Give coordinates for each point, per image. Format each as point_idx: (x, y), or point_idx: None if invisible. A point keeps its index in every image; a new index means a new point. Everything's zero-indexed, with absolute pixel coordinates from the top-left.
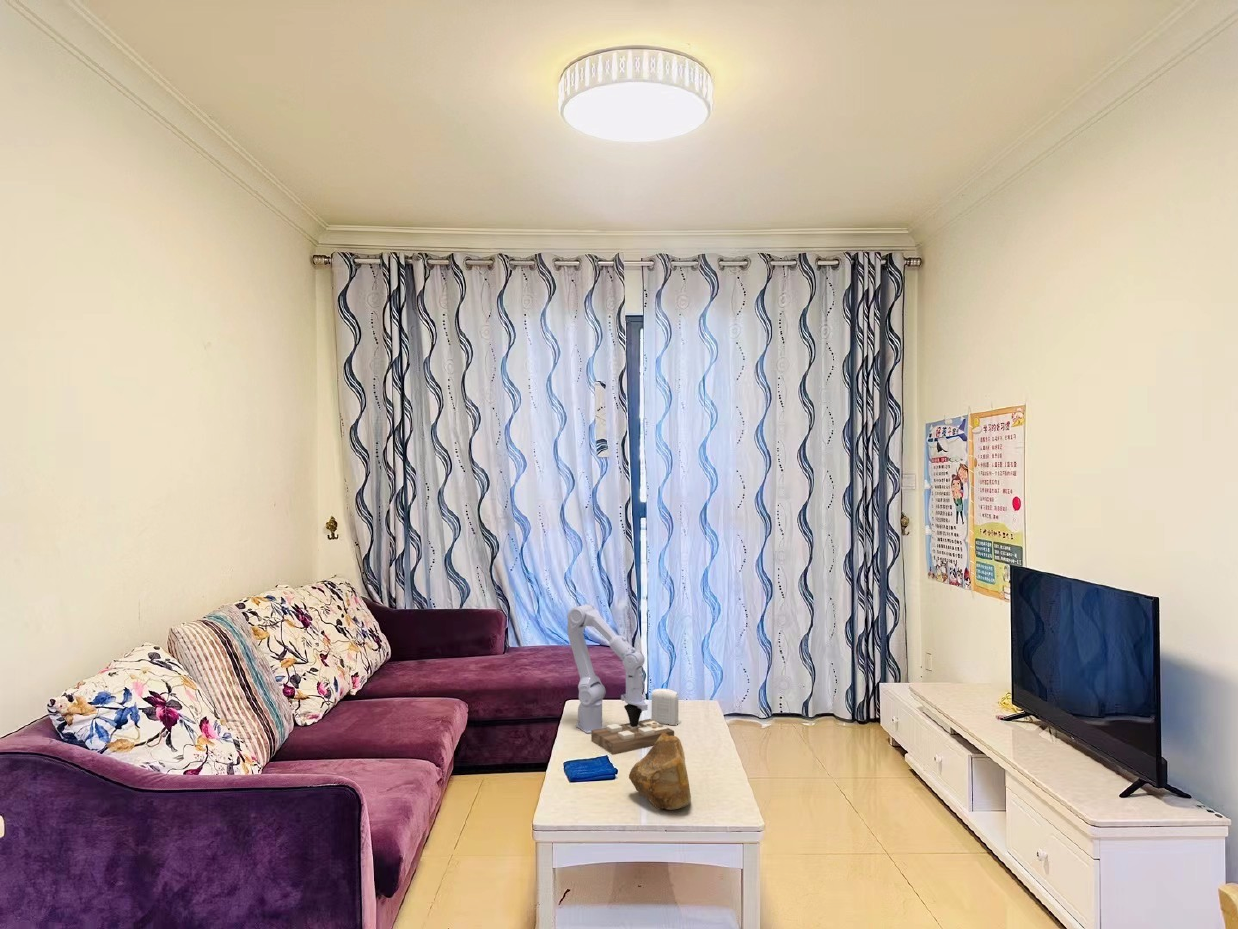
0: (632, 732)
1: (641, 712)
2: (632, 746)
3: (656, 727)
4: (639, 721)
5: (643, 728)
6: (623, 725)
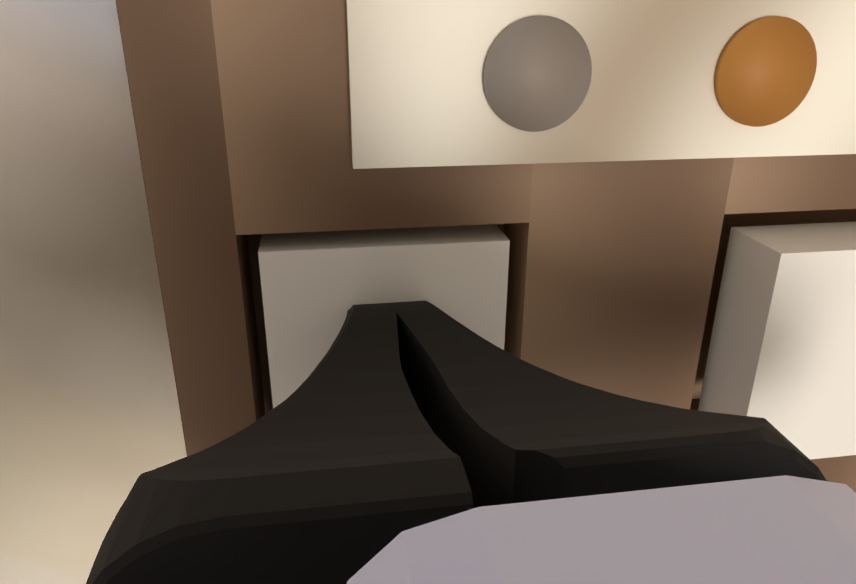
0: None
1: (631, 407)
2: None
3: (807, 30)
4: (166, 112)
5: (810, 394)
6: None
